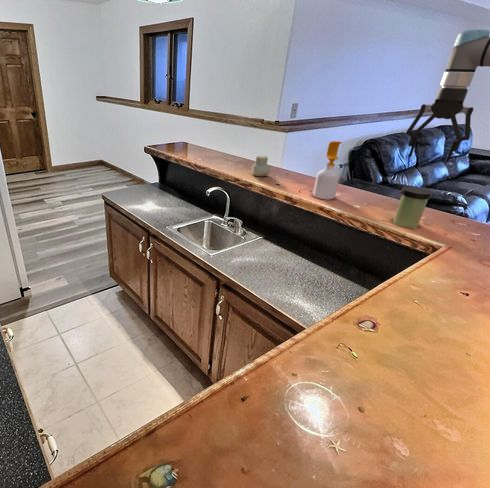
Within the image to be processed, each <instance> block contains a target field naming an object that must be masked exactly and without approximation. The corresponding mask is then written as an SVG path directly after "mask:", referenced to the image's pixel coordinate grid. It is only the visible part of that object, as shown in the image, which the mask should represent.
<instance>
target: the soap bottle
mask: <svg viewBox="0 0 490 488" xmlns="http://www.w3.org/2000/svg"><path fill="white" fill-rule="evenodd" d="M342 143H343V142H342V141H336V140H335V141H334V140H333V141H332V140H331V141H330V142H329V143H328V147H327V151H326V159H328V162H327V163H326V165H325V168H324V169H321V170H319V171H318V172H317V174H316V177H315V182H314V187H313V191H312V196H313V197H314V198H316V199H319V200H326V201H329V200H333V199H335V197H336V194H337V189H338V185H339V181H340V174H339V173H338V171H337V170H335V166H336V163H334V162H335V161H336V160H339V157H338V152H339V148H340V144H342Z"/></svg>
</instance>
